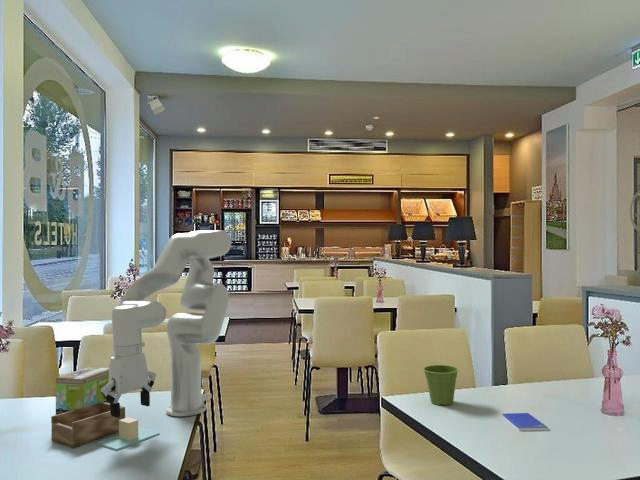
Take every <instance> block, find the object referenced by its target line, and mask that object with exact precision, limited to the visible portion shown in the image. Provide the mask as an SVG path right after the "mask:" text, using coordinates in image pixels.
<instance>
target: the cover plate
mask: <svg viewBox="0 0 640 480" xmlns="http://www.w3.org/2000/svg"><path fill="white" fill-rule="evenodd" d="M159 435H160V432H158V431H155V430H150V429H148V428H147V429H146V428H143V427H140V426H139V419H136V418H132V417H128V416H127V417H125V419H121V420H119V433H118V434H115V435H114V436H110V437H107V438H104V439H103V440H102V439H101V440H98V441H95V443H96V445H97V446H99V447H103V448H106V449H110V450H114V451H115V452H118V451H120V450H123V449H126V448H128V447H130V446H133V445H136V444H138V443H141V442H144V441H147V440H149V439H151V438H154V437H156V436H159Z"/></svg>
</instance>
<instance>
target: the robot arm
mask: <svg viewBox="0 0 640 480" xmlns="http://www.w3.org/2000/svg"><path fill="white" fill-rule="evenodd" d="M231 246H232V239H231V236H230V235H229V233H228V232H227V231H225V230H223V229H222V230H221V229H215V230H213V229H212V230H211V229H210V230H193V231H189V232H183V233H181V232H178V233H175V234H174V235H173V234H172V236H170V237H169V239H168V240H167V242H166V244H165V246H164V248H163V250H162V252H161V253H160V255H159V257H158V258H157V260H156V262H155V264H154V266H153V267H152V268H151V269H150V270H149V271H148V272H146V273H144V274H143V275H142V276H141V277H139V278H138V279H137V280H135V281H134V282H133V283H132V284H131V285H130V286H129V287H128V288H127V289H126V291H125V293H124V295H123V296H122V298H121V300H120V302H119V304H118V306H115V307H113V309H112V310H111V327H112V329H111V330H112V349H113V356H111V357H110V361H109V367H108V368H109V382H108V383H107V384H106V385H105V386H104V387H103V388H102V389H101V390H100V391H101V393H102V395H103V396H104V398H105V399H106V400H107V401H108V402H110V412H111V416H113V417H117V418H118V417H120V406H121V403H120V402H119V400H120V398H121V397H122V395H125V394H128V393H131V392H134V391H137V390H140V389H141V391H140V394H139V395H140V397H139V398H140V405H141V406H145V407H150V405H151V403H150V402H151V396H150V393H151V391H152V388H153V386H154V384H155V380H156V377H157V373H155V372H152V371H149V370H148V364H147V358H146V355H145V352H144V351H143V347H145V346H146V344H145V342H143V340H142V339H143V336H142V333H143V332H142V329H148V328H155V327H158V326H160V325H161V324H162V323H164V321H166V317H167V309H166V307H165V305H163V304H162V302H159V301H154V300H146V299H147V298H149V297H150V296H151V295H153V294H155V293H158V292H159V291H161V290H164V289H166V288H169V287H171V286H174V285H176V284H177V283H178V282H179V280H180V279H181V276H182V274H183V272H184V271H185V268H186V266H187V264H188V263H189V264H188V265H189V269H188V274H187V277H186V281H185V284H184V287H183V290H182V293H181V297H180V304H181V307H182V308H183V309H185V310H186V311H193V312H179V313H174V314H173V315H171V316H170V318H169V319H168V320H167V323H166V333H167V335H166V336H167V337H168V338H167V339H168V342H169V351H170V353H169V354H170V405H169V406H168V407H166V408H165V409H166V410H165V411H166V412H165V413H166V414H167V415H168V416H172V417H180V418H181V417H189V416H190V417H191V416H196V415H199V414H202V413H205V412H206V410H207V405H206V403H205V401H207V400H211V399H212V398H213V397H212V396H213V395H212V393H211V392H207V393H202V357H201V356H202V355H201V351H200V349H199V346H198V345H197V344H203V345H208V344H213V343H215V342H216V341H217V340H218V338H219V336H220V335H221V331H222V328H223V324H224V321H225V317H226V313H227V309H228V305H229V299H230V297H229V291H228V288H227V287H226V286H225V285H224V284H222V283H220V282H213V281H214V277H215V269H214V266H213V264H212V262H211V261H210V259H214V258H218V257H221V256H224V255H226V254H228V252H229V251H230V250H231ZM199 312H200V313H199ZM201 312H204V313H201ZM109 391H110V392H112V393H111V395H110V394H109Z"/></svg>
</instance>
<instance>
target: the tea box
mask: <svg viewBox="0 0 640 480" xmlns="http://www.w3.org/2000/svg"><path fill="white" fill-rule="evenodd" d="M55 379H56V380H55V415H58V414H62V413H65V412H69V411H72V410H76V409H79V408H83V407H86V406H90V405H93V404H97V403H101V402H107V403H110V402H108V401H107V400H106V399H105V398H104V396H103V395H102V393H101V391H100V390H101V389H102V388H103V387H104V386H105V385H106V384H107V383H108V382H109V367H94V366H93V367H91V366H89V367H88V366H86V367H84V368H81V369H78V370H75V371H71V372H69V373H66V374H63V375H59V376H57V377H56V378H55ZM111 393H112V392H110V391H109V394H110V395H111Z"/></svg>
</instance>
